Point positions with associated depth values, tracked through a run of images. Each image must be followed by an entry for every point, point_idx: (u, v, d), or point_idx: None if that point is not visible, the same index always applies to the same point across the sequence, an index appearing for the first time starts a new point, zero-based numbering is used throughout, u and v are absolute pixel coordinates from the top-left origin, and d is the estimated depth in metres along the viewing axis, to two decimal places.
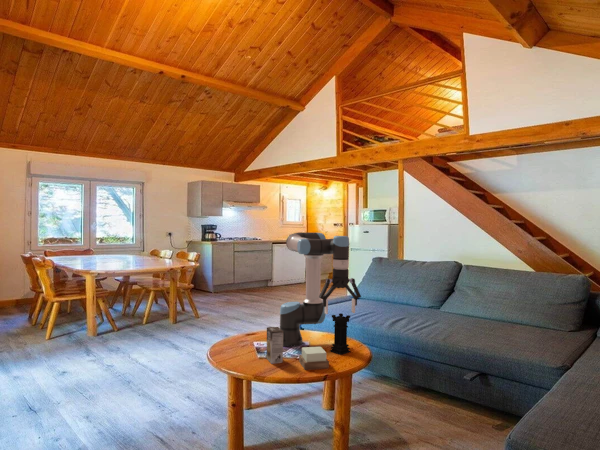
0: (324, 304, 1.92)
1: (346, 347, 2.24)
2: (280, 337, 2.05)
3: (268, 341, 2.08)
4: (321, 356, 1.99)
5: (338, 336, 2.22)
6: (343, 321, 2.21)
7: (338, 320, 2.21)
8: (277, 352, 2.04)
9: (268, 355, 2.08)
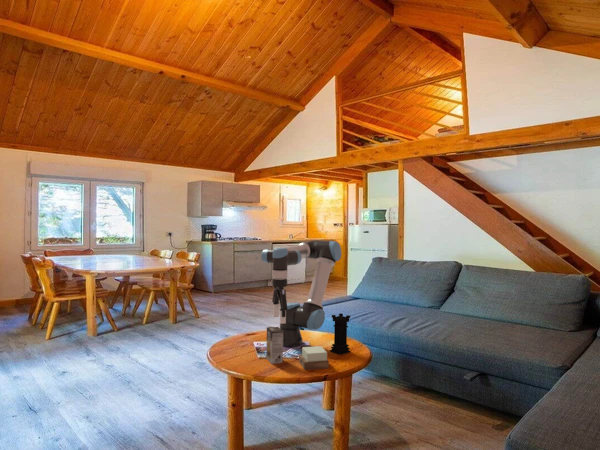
0: None
1: (346, 347, 2.24)
2: (280, 337, 2.05)
3: (268, 341, 2.08)
4: (322, 356, 1.99)
5: (338, 336, 2.22)
6: (343, 321, 2.21)
7: (338, 320, 2.21)
8: (277, 352, 2.04)
9: (268, 355, 2.08)
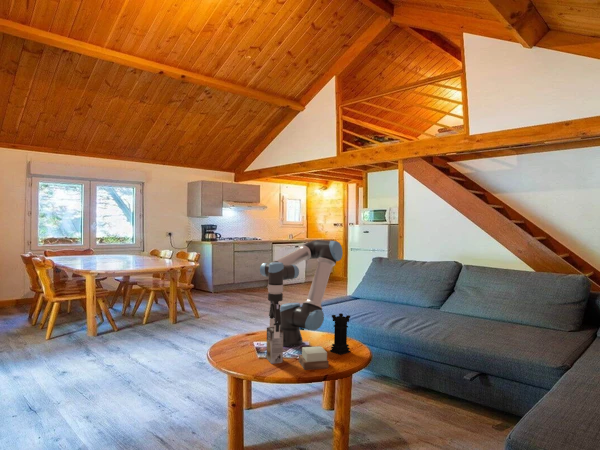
0: None
1: (346, 347, 2.24)
2: (280, 337, 2.05)
3: (268, 341, 2.08)
4: (322, 356, 1.99)
5: (338, 336, 2.22)
6: (343, 321, 2.21)
7: (338, 320, 2.21)
8: (277, 352, 2.04)
9: (268, 355, 2.08)
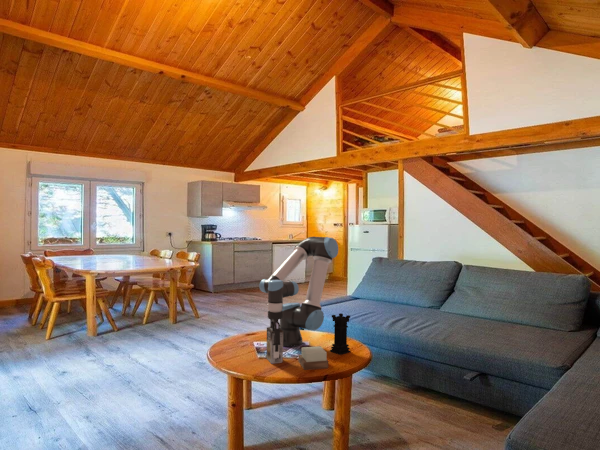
0: None
1: (346, 347, 2.24)
2: (280, 337, 2.05)
3: (268, 341, 2.08)
4: (322, 356, 1.99)
5: (338, 336, 2.22)
6: (343, 321, 2.21)
7: (338, 320, 2.21)
8: None
9: (268, 355, 2.08)
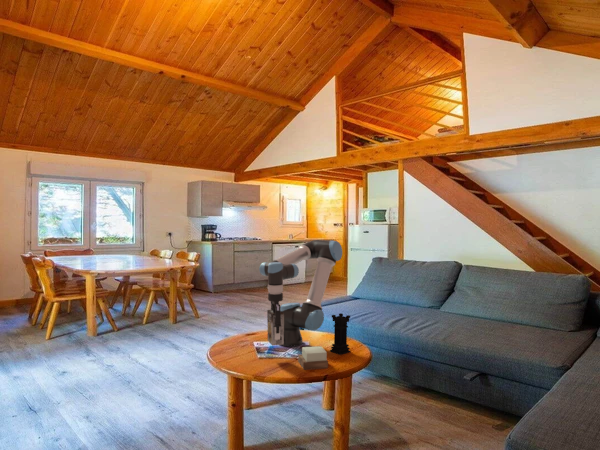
0: None
1: (346, 347, 2.24)
2: (281, 319, 2.05)
3: (269, 323, 2.08)
4: (322, 356, 1.99)
5: (338, 336, 2.22)
6: (343, 321, 2.21)
7: (338, 320, 2.21)
8: None
9: (269, 337, 2.08)
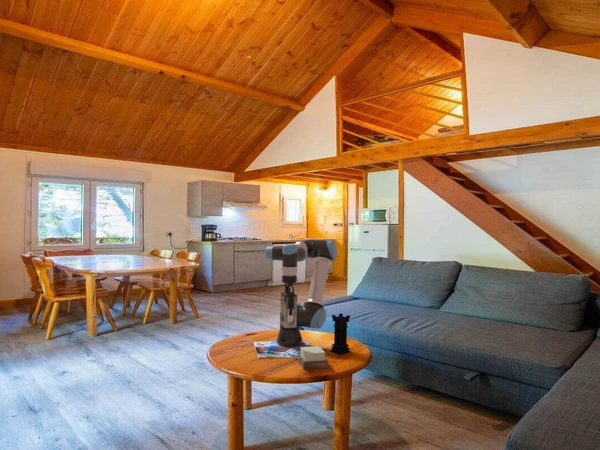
0: None
1: (346, 347, 2.24)
2: (294, 302, 2.02)
3: (282, 305, 2.06)
4: (320, 356, 1.99)
5: (338, 336, 2.22)
6: (343, 321, 2.21)
7: (338, 320, 2.21)
8: None
9: (282, 320, 2.05)
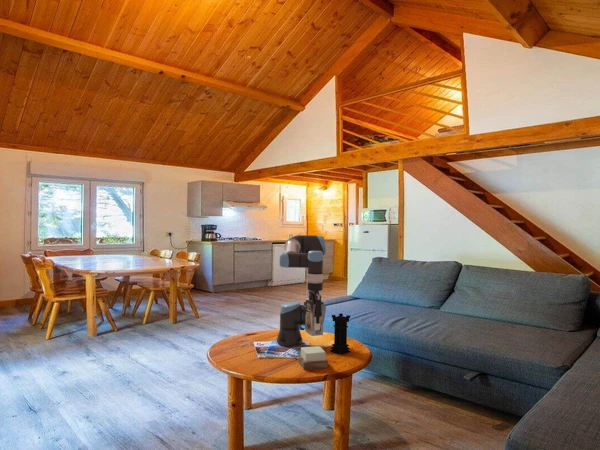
0: None
1: (346, 347, 2.24)
2: (321, 309, 1.99)
3: (308, 313, 2.02)
4: (320, 356, 1.99)
5: (338, 336, 2.22)
6: (343, 321, 2.21)
7: (338, 320, 2.21)
8: None
9: (308, 328, 2.02)
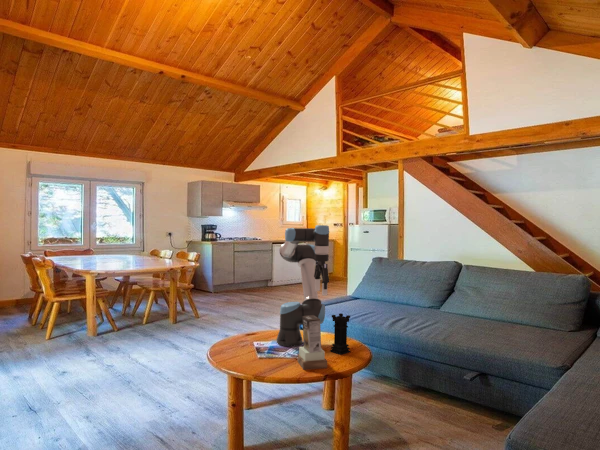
0: None
1: (346, 347, 2.24)
2: (317, 326, 1.99)
3: (305, 330, 2.02)
4: (320, 355, 2.00)
5: (338, 336, 2.22)
6: (343, 321, 2.21)
7: (338, 320, 2.21)
8: (315, 340, 1.99)
9: (306, 344, 2.02)
